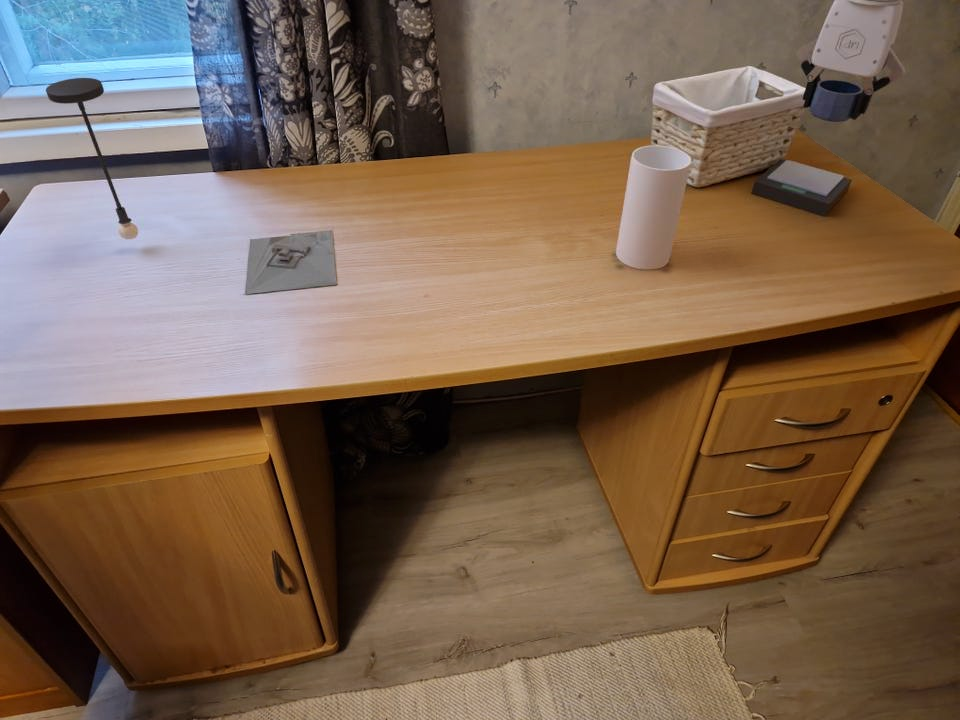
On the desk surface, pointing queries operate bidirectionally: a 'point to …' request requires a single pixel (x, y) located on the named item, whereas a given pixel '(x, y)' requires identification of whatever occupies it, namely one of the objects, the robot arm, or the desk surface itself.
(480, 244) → the desk surface
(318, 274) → the grey faceted rectangular plate
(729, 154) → the basket
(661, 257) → the cup
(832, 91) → the bowl
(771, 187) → the scale
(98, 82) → the light fixture
